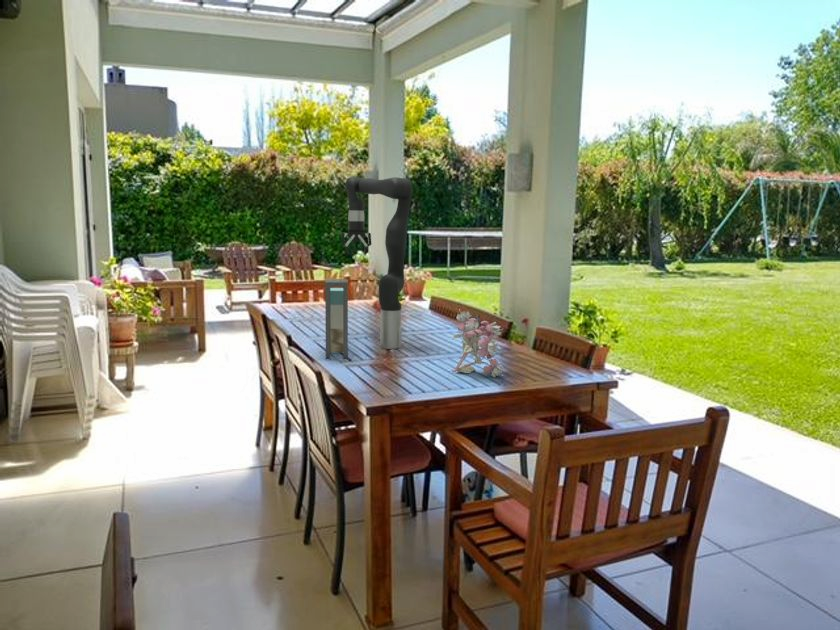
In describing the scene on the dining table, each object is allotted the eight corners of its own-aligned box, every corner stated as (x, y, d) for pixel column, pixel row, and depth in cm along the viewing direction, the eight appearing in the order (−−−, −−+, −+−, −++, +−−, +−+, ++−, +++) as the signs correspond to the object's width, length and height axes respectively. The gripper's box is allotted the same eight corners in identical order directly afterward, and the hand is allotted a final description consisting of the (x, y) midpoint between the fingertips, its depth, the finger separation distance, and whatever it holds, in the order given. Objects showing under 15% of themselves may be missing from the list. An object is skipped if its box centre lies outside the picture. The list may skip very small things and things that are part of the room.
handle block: (344, 298, 299) (344, 285, 298) (345, 304, 279) (345, 290, 278) (329, 298, 298) (329, 285, 297) (328, 304, 278) (328, 290, 277)
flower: (455, 380, 232) (487, 318, 230) (429, 360, 252) (459, 303, 250) (497, 398, 241) (528, 338, 240) (469, 378, 261) (498, 322, 260)
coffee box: (465, 348, 294) (466, 313, 292) (479, 349, 293) (480, 314, 290) (462, 353, 285) (463, 316, 283) (476, 353, 284) (477, 317, 281)
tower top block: (346, 323, 293) (346, 300, 291) (346, 328, 281) (346, 304, 279) (328, 323, 292) (328, 300, 290) (327, 328, 280) (327, 304, 278)
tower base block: (346, 346, 294) (346, 323, 293) (346, 352, 282) (346, 328, 281) (328, 346, 293) (328, 323, 292) (327, 352, 281) (327, 328, 280)
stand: (347, 353, 280) (347, 279, 275) (347, 359, 269) (347, 282, 264) (326, 353, 279) (326, 279, 274) (325, 359, 268) (325, 282, 263)
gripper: (341, 220, 304) (341, 255, 307) (371, 220, 306) (371, 255, 308) (341, 220, 311) (341, 253, 314) (371, 220, 313) (370, 254, 316)
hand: (356, 254), depth 311 cm, fingers open, 8 cm apart
